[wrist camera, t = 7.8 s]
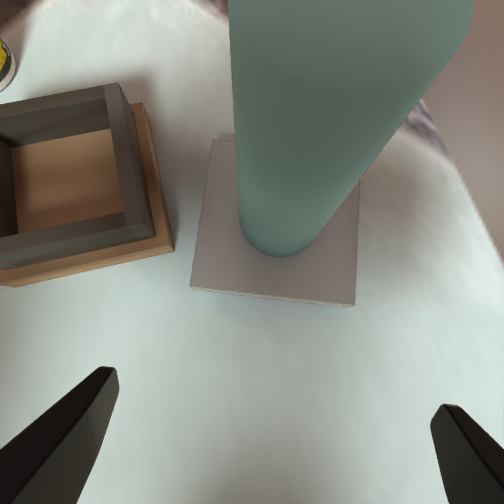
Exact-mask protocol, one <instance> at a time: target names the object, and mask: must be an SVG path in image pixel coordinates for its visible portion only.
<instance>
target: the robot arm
mask: <svg viewBox="0 0 504 504" xmlns="http://www.w3.org/2000/svg"><path fill="white" fill-rule="evenodd" d="M118 394H119V382H118V376H117V371H116V369H115V368H114V367H106V366H101V367H99V368H97V369H96V370H95V371H94V372H92V373H91V374H90V375H89V376H88V377H86V378H85V379H84V380H83V381H82V382H80V383H79V384H78V385H77V386H76V387H74V388H73V389H72V390H71V391H70V392H68V393H67V394H66V395H65V396H64V397H62V398H61V399H60V400H59V401H58V402H56V403H55V404H54V405H53V406H52V407H50V408H49V409H48V410H47V411H46V412H44V413H43V414H42V415H41V416H40V417H39V418H37V419H36V420H35V421H34V422H33V423H31V424H30V425H29V426H28V427H27V428H25V429H24V430H23V431H22V432H21V433H19V434H18V435H17V436H16V437H15V438H13V439H12V440H11V441H10V442H9V443H7V444H6V445H5V446H4V447H3V448H1V449H0V504H76V503H77V501H78V499H79V497H80V494H81V492H82V490H83V488H84V485H85V483H86V481H87V479H88V477H89V474H90V472H91V470H92V468H93V465H94V463H95V461H96V458H97V456H98V454H99V451H100V448H101V445H102V442H103V439H104V436H105V433H106V430H107V427H108V424H109V421H110V418H111V415H112V412H113V409H114V406H115V403H116V400H117V397H118ZM430 429H431V433H432V438H433V442H434V446H435V451H436V455H437V459H438V464H439V468H440V472H441V477H442V481H443V485H444V489H445V492H446V495H447V499H448V502H449V504H504V449H503V448H502V447H501V446H500V445H499V444H498V443H497V442H496V441H495V440H494V439H493V438H492V437H491V436H490V435H489V434H488V433H487V432H486V431H485V430H484V429H483V428H482V427H481V426H480V425H478V424H477V423H476V422H475V421H474V420H473V419H472V418H471V417H470V416H469V415H468V414H467V413H466V412H465V411H464V410H463V409H462V408H461V407H459V406H457V405H452V404H442V405H441V406H440V407H439V409H438V410H437V412H436V413H435V415H434V417H433V418H432V420H431V423H430Z"/></svg>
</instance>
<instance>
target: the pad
mask: <svg viewBox="0 0 504 504" xmlns="http://www.w3.org/2000/svg"><path fill="white" fill-rule="evenodd" d="M359 186H360V179H359V181H358V182H357V183H356V185H355V186H354V187H353V189H352V190H351V191H350V193H349V194H348V195H347V197H346V198H345V199H344V201H343V202H342V203H341V204H340V206H339V207H338V208H337V210H336V211H335V212H334V214H333V215H332V216H331V218H330V219H329V220H328V222H327V223H326V224H325V226H324V227H323V228H322V230H321V231H320V232H319V234H318V235H317V236H316V238H315V239H314V240H313V242H312V243H311V244H310V245H309V246H308V247H307V248H306V249H304V250H303V251H301V252H300V253H298V254H295V255H292V256H289V257H273V256H269V255H266V254H263V253H261V252H259V251H258V250H256V249H255V248H254V247H252V246H251V245H250V244H249V242H248V241H247V240H246V238H245V237H244V235H243V233H242V230H241V227H240V221H239V202H238V184H237V165H236V146H235V142H233V141H224V140H215V139H213V141H212V147H211V153H210V160H209V166H208V172H207V179H206V185H205V191H204V198H203V204H202V210H201V217H200V223H199V229H198V235H197V242H196V248H195V254H194V261H193V267H192V273H191V280H190V287H191V288H192V289H193V290H200V291H209V292H218V293H226V294H235V295H244V296H252V297H261V298H270V299H278V300H287V301H296V302H304V303H313V304H322V305H330V306H339V307H350V306H355V289H356V263H357V237H358V212H359Z"/></svg>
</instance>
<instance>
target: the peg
mask: <svg viewBox="0 0 504 504" xmlns="http://www.w3.org/2000/svg"><path fill="white" fill-rule="evenodd" d="M472 12H473V0H228V15H229V34H230V53H231V71H232V90H233V109H234V128H235V146H236V165H237V184H238V202H239V221H240V227H241V230H242V233H243V235H244V237H245V238H246V240H247V241H248V242H249V244H250V245H251V246H252V247H254V248H255V249H256V250H258V251H259V252H261V253H263V254H266V255H269V256H273V257H289V256H292V255H295V254H298V253H300V252H301V251H303V250H304V249H306V248H307V247H308V246H309V245H310V244H311V243H312V242H313V240H314V239H315V238H316V236H317V235H318V234H319V232H320V231H321V230H322V228H323V227H324V226H325V224H326V223H327V222H328V220H329V219H330V218H331V216H332V215H333V214H334V212H335V211H336V210H337V208H338V207H339V206H340V204H341V203H342V202H343V201H344V199H345V198H346V197H347V195H348V194H349V193H350V191H351V190H352V189H353V187H354V186H355V185H356V183H357V182H358V181H359V179H360V178H361V177H362V175H363V174H364V173H365V171H366V170H367V169H368V167H369V166H370V165H371V163H372V162H373V161H374V160H375V158H376V157H377V156H378V154H379V153H380V152H381V150H382V149H383V148H384V146H385V145H386V144H387V142H388V141H389V140H390V138H391V137H392V136H393V134H394V133H395V132H396V130H397V129H398V128H399V126H400V125H401V124H402V122H403V121H404V120H405V118H406V117H407V116H408V115H409V113H410V112H411V111H412V109H413V108H414V107H415V105H416V104H417V103H418V101H419V100H420V99H421V97H422V96H423V95H424V93H425V92H426V90H427V89H428V88H429V87H430V85H431V84H432V83H433V81H434V80H435V79H436V77H437V76H438V75H439V74H440V72H441V71H442V70H443V68H444V67H445V65H446V64H447V63H448V62H449V60H450V59H451V58H452V56H453V55H454V54H455V52H456V51H457V50H458V48H459V47H460V46H461V44H462V42H463V40H464V38H465V37H466V35H467V33H468V29H469V26H470V23H471V19H472Z"/></svg>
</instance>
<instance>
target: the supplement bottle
mask: <svg viewBox="0 0 504 504" xmlns="http://www.w3.org/2000/svg"><path fill="white" fill-rule="evenodd" d="M14 72H15V59H14V56H13V54H12V52H11V51H10V49H9V48H8V47H7V46H6V44H5V43H4V42H3V41H2V40H1V38H0V91H1V90H3V89H4V88H5V87H6V86H7V85H8V83H9V82H10V81H11V79H12V77H13V75H14Z"/></svg>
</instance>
